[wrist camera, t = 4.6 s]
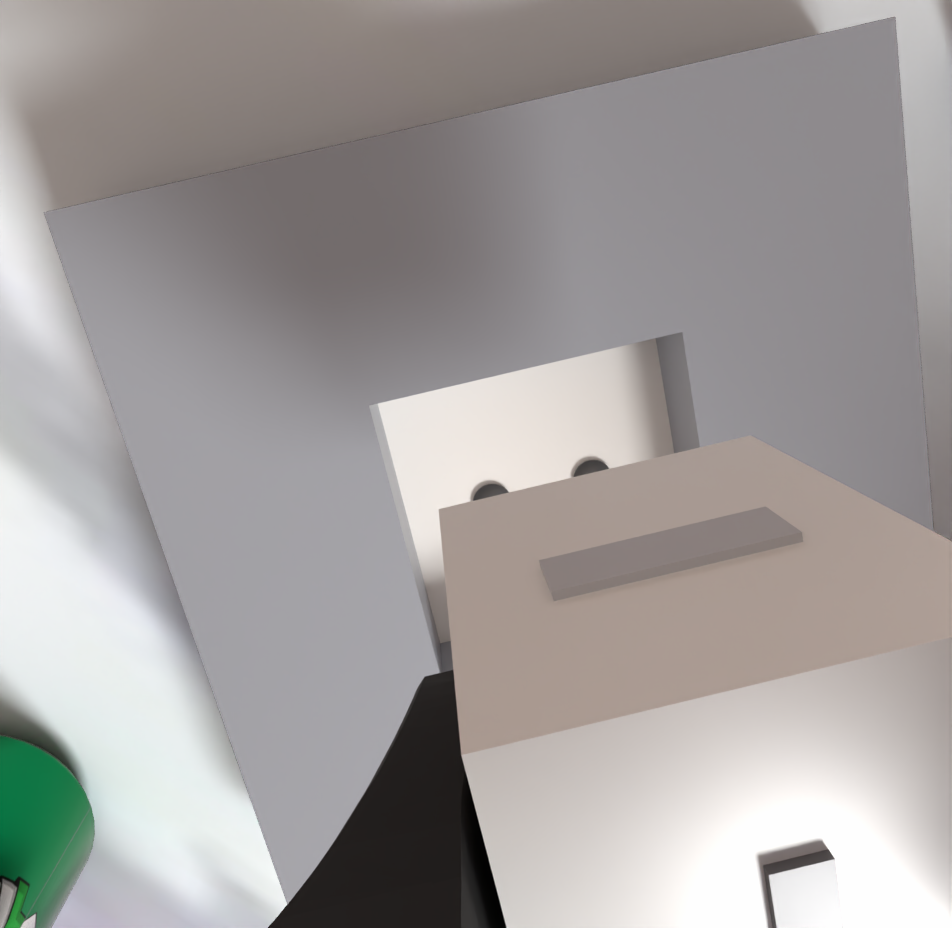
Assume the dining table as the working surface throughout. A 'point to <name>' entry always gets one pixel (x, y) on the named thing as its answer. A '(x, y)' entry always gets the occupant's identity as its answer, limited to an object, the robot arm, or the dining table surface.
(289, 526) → the socket plate
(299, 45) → the dining table surface
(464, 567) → the brick
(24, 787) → the soda can
